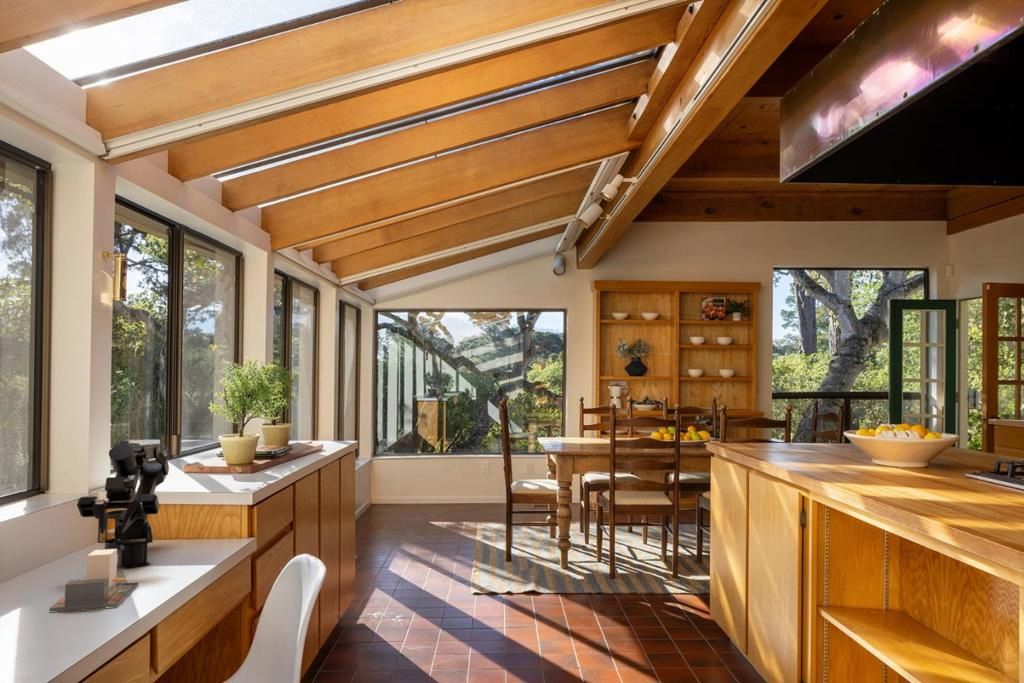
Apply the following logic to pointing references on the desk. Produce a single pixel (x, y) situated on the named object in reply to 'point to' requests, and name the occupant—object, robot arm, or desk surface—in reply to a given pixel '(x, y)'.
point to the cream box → (103, 566)
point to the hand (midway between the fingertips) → (111, 532)
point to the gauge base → (93, 595)
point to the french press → (111, 542)
